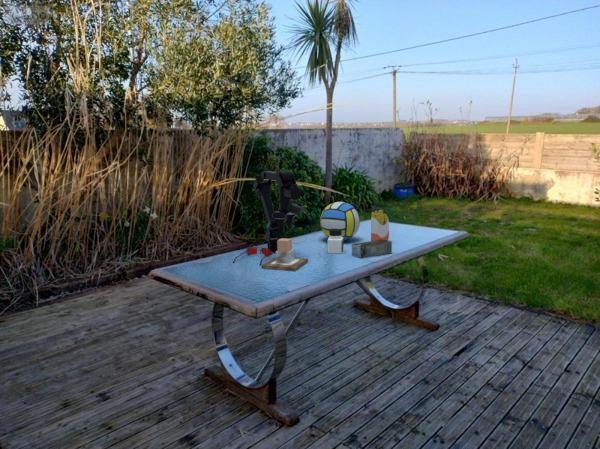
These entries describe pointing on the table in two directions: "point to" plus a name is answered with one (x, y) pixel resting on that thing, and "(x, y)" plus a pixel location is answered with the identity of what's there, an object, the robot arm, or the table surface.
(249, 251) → the glasses
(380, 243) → the beverage carton
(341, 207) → the volleyball
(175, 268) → the table surface
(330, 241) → the medicine bottle
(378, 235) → the french fries container
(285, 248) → the terracotta block
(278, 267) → the base board
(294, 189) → the robot arm
